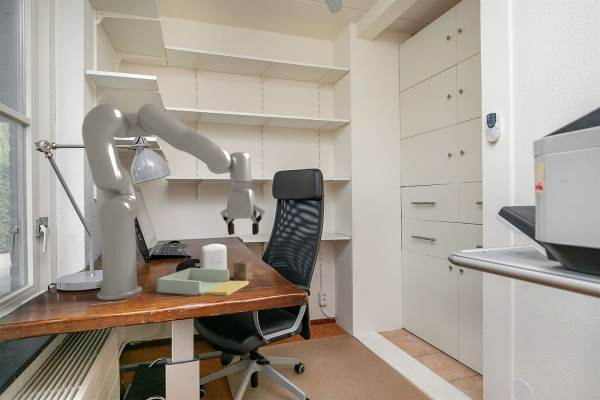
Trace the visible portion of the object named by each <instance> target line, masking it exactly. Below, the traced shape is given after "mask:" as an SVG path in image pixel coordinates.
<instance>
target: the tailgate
mask: <svg viewBox="0 0 600 400" xmlns="http://www.w3.org/2000/svg"><path fill="white" fill-rule="evenodd" d="M249 284H250V281H249V280H247V281H242V280H231V281H227V282H225V283H222V284H220V285H218V286H216V287H214V288H212V289H210V290H207V291H205V292H204V294H203V295H211V296H213V295H214V296H215V295H216V296H225V297H226V296H227V297H228V296H229V295H231V294H233V293H235V292H237V291H239V290H240V289H243V288H244V287H246V286H247V285H249Z"/></svg>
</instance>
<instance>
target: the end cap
mask: <svg viewBox="0 0 600 400" xmlns="http://www.w3.org/2000/svg"><path fill="white" fill-rule="evenodd" d="M196 264H201V258H191V257H187V258H184V259H183V260H182V261H180V262H179V263H178V264H177V265H176V267H175V273H176V272H179V271H182V270H185V269H188V268H201V265H200V266H199V265H198V266H196Z"/></svg>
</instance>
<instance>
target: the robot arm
mask: <svg viewBox="0 0 600 400" xmlns="http://www.w3.org/2000/svg"><path fill="white" fill-rule="evenodd" d="M82 121H83V122H82V125H81V126H82V127H81V136H82V141H83V145H84V149H85V153H86V156H87V162H88V165H89V169H90V173H91V177H92V181H93V184H94V186H95V187H96V188H97V189H99V190H100V191H102V194H103V197H104V200H103V201H102V203H101V204H100V206H99V209H98V219H99V220H98V221H99V225H100V236H101V237H100V238H101V239H100V241H101V264H102V265H101V267H102V272H101V273H102V279H101V280H100V281H99V282H97V283H96V284H95V286H96V288H100V291H99V292H98V293H97V294H96V296H97V297H96V298H97V299H98V300H101V301H102V300H103V301H112V300H116V301H117V300H121V299H127V298H132V297H134V296H136V295H139V294H141V293H142V292H143V287H142V286H139V285H138V278H137V273H138V272H137V271H138V270H137V240H136V225H135V219H136V218H137V216H138V215H139V211H140V210H139V207H140V206H139V203H138V200H137V196H136V192H135V189H134V185H133V181H132V177H131V176H130V173H129V172H128V170H126V168H124V167H123V165H122V163H121V159H120V157H119V151H118V147H117V144H116V142H115V141H116V140H115V138H116V139H126V138H127V139H128V138H138V137H139V138H140V137H142V138H143V137H151V136H156V137H158V138H159V139H161V141H162V140H163V141H164V142H166V144H168V145H169V146H171V147H173V148H174V149H176V150H177V151H180V152H184V153H187V154H189V155H191V156H193V157H194V158H196V159H198V160H199V161H201V162H203V163H204V164H206V167H207V170H209V172H211V173H212V174H215V175H221V174H229V180H230V181H229V184H227V188H228V189H229V191H228V193H227V199H226V208H224V210H222V211H220V215H221V217H222V220H224V222H225V224H226V225H227V233H228V236H232V235H235V223H234V221H235V219H236V220H240V219H250V220H251V222H252V223H251V226H252V228H251V231H252V232H251V233H252V235H253V236H256V235H258V234H259V230H260V229H259V228H260V227H259V223H260V222H261V221H262V220H263V217H264V216H265V212H266V211H265V210H264V209H263V208H261V207H259V206H257V201H256V200H257V199H256V195H255V191H254V190H253V189H252V188H253V187H252V185H253V184H252V166H251V164H252V163H251V161H252V159H251V155H250V153H248V152H245V151H242V152H241V151H237V152H232V153H230V154H229V152H228V151H227V150H225V149H224V148H223V147H221V146H220V145H219V144H217V143H215V142H214V141H213V140H211V139H210V138H208V137H206V136H205V135H204V134H201V133H199V132H197V131H196V130H195V129H192V128H190V127H189V126H187V125H186V124H184V123H183V122H181V121H180V120H178V119H177V118H176V117H174V116H173V115H172V114H170V113H168V111H167V110H166V111H165V110H164V109H163V108H162V107H160V106H158V105H156V104H154V103H145V104H144V105H142V106H141V107H139V109H138V111H137V112H130V113H129V112H128V113H127V112H126V113H125V112H124V111H123V109H121V108H120V107H119V106H117V105H115V104H112V103H108V102H106V103H101V104H98V105H96V106H94V107H93V108H91V109H90V110H89V111H88V112H87V113H86V115H85V116H84V119H83V120H82ZM257 212H258V213H257Z"/></svg>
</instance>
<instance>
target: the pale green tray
mask: <svg viewBox="0 0 600 400" xmlns="http://www.w3.org/2000/svg"><path fill="white" fill-rule="evenodd" d="M227 281H232V280H231V279H230V269H227V270H225V269H205V268H201V267H200V268H188V269H185V270H182V271H179V272H176V271H175V272H173V273H171V274H170V273H169V274H168V275H165V276H162V277H159V278H156V279H155V282H156V283H155V286H156V287H155V288H156V289H155V290H156V293H163V294H164V293H167V294H176V295H177V294H179V295H191V296H203V295H205V294H204V292H205V291H207V290H210V289H212V288H214V287H216V286H218V285H220V284H222V283H225V282H227Z"/></svg>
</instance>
